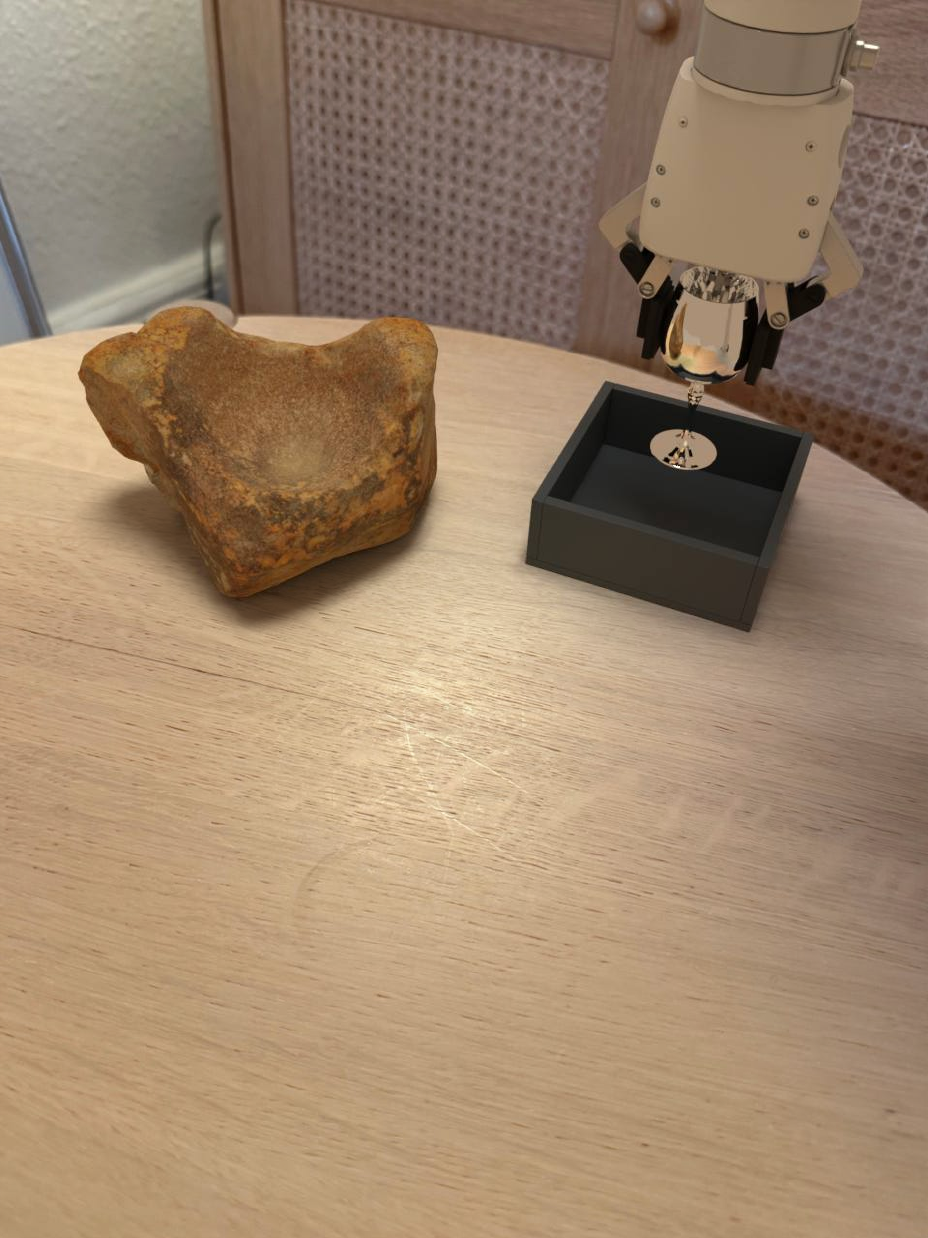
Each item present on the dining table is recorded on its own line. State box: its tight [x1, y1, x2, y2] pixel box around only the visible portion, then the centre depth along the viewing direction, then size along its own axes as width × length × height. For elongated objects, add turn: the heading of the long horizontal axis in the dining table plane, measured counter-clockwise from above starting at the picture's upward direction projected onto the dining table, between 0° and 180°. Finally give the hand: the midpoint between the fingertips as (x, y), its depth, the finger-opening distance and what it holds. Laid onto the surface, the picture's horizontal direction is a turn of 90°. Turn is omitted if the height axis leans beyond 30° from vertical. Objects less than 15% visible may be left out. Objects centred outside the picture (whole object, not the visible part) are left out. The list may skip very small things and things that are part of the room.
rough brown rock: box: [77, 305, 439, 598], centre depth 70 cm, size 23×17×15 cm
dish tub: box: [525, 380, 816, 633], centre depth 75 cm, size 16×16×6 cm
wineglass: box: [650, 266, 760, 470], centre depth 68 cm, size 6×6×12 cm
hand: (703, 359), depth 67 cm, fingers closed on wineglass, 5 cm apart
